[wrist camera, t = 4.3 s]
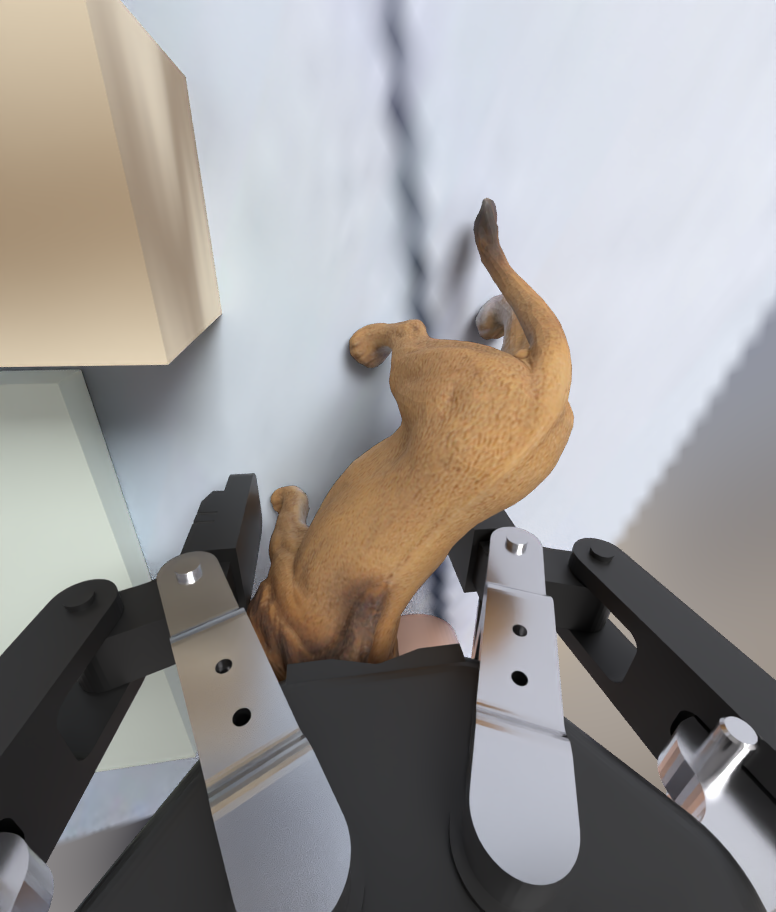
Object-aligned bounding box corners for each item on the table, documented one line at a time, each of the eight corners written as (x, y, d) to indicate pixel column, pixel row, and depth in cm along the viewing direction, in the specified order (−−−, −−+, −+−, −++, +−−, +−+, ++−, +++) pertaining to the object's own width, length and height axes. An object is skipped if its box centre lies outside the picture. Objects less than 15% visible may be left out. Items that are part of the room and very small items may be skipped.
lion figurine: (364, 597, 18) (409, 888, 10) (236, 575, 16) (171, 909, 8) (553, 241, 12) (1008, 276, 4) (386, 145, 10) (638, -99, 2)
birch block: (-75, 55, 8) (-487, -126, 4) (186, 77, 9) (72, -57, 5) (21, 312, 11) (-173, 369, 6) (222, 313, 12) (168, 364, 7)
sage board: (-372, 377, 10) (-451, 394, 9) (80, 369, 12) (58, 383, 11) (-33, 763, 19) (-53, 794, 18) (201, 729, 20) (195, 757, 19)
